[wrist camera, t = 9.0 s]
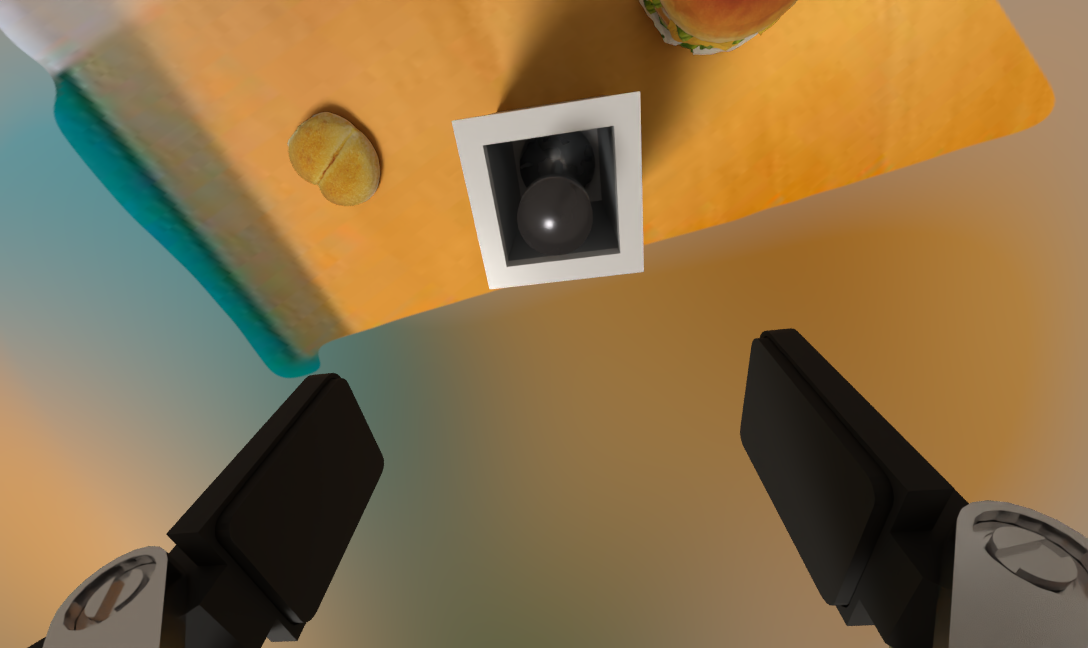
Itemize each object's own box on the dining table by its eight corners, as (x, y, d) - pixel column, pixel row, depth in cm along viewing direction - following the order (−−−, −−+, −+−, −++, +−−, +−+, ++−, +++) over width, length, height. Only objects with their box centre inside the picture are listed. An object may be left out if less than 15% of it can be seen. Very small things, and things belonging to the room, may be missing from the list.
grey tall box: (608, 92, 39) (640, 91, 24) (614, 209, 45) (643, 271, 29) (494, 110, 40) (451, 121, 25) (513, 222, 46) (489, 289, 30)
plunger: (591, 117, 39) (617, 138, 21) (597, 197, 43) (624, 272, 25) (514, 129, 40) (476, 159, 22) (526, 206, 44) (502, 286, 26)
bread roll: (356, 216, 47) (340, 226, 43) (287, 154, 43) (263, 159, 40) (400, 165, 44) (386, 172, 40) (329, 95, 41) (308, 95, 37)
